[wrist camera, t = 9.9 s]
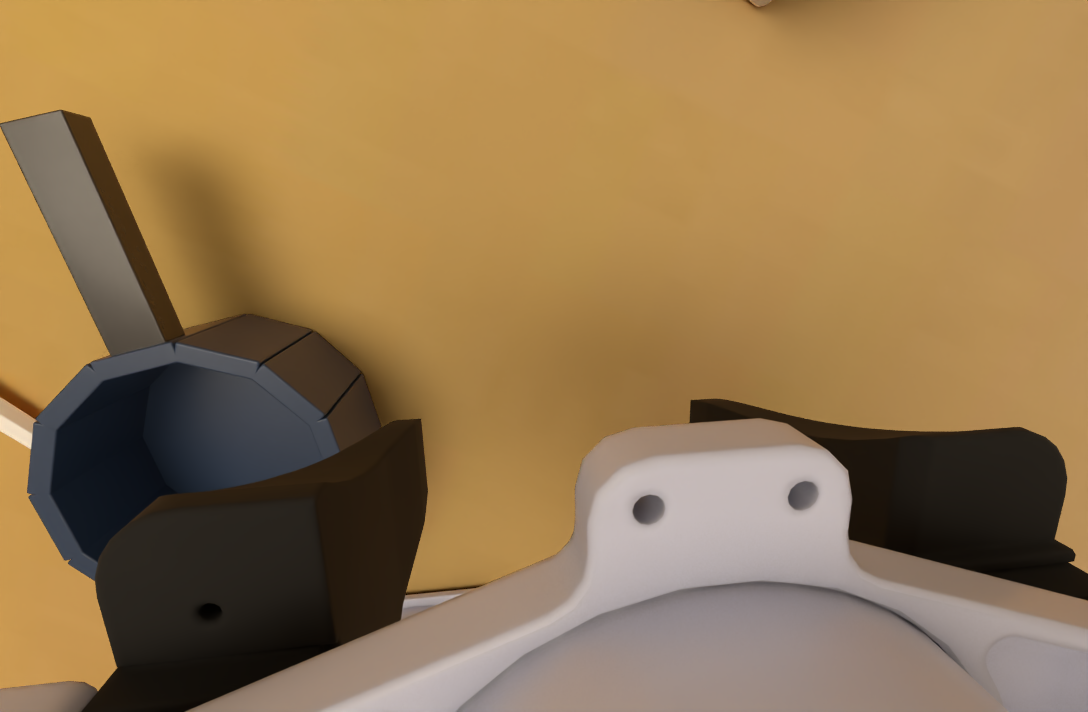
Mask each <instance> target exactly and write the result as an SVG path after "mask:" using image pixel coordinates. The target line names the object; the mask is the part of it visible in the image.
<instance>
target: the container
mask: <svg viewBox="0 0 1088 712" xmlns="http://www.w3.org/2000/svg"><path fill="white" fill-rule="evenodd" d="M749 1H750V2H751V3H753V4H754V5H755V6H757V7H760V6H765V5H767V4H768V3H769V2H771V1H772V0H749Z"/></svg>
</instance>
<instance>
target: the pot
mask: <svg viewBox="0 0 1088 712" xmlns="http://www.w3.org/2000/svg"><path fill="white" fill-rule="evenodd" d="M0 127H1V129H2V131H3V133H4V135H5V138H6V140H7V142H8V144H9V146H10V148H11V150H12V152H13V154H14V156H15V158H16V160H17V162H18V164H19V167H20V169H21V171H22V173H23V175H24V177H25V179H26V181H27V183H28V185H29V187H30V189H31V191H32V193H33V196H34V198H35V200H36V202H37V204H38V206H39V208H40V210H41V212H42V214H43V216H44V218H45V220H46V222H47V225H48V227H49V229H50V231H51V233H52V235H53V237H54V239H55V241H56V243H57V245H58V247H59V249H60V251H61V254H62V256H63V258H64V260H65V262H66V264H67V266H68V268H69V270H70V272H71V274H72V276H73V278H74V280H75V283H76V285H77V287H78V289H79V291H80V293H81V295H82V297H83V299H84V301H85V303H86V305H87V307H88V310H89V312H90V314H91V316H92V318H93V320H94V322H95V324H96V326H97V328H98V330H99V332H100V334H101V336H102V339H103V341H104V343H105V345H106V347H107V349H108V351H109V353H110V355H109V356H106V357H103V358H100V359H97V360H95V361H92V362H91V363H89V364H87V365H85V366H84V367H83V368H82V370H81V371H80V372H79V373H78V374H77V375H76V376H75V377H74V378H73V379H72V380H71V381H70V382H69V383H68V384H67V386H66V387H65V388H64V389H63V390H62V391H61V392H60V393H59V394H58V395H57V396H56V397H55V398H54V399H53V400H52V402H51V403H50V404H49V405H48V406H47V407H46V408H45V409H44V410H43V411H42V412H41V413H40V414H39V415H38V416H37V418H36V420H37V421H36V422H34V423H33V432H32V443H31V455H30V466H29V477H28V488H27V493H29V494H31V495H30V496H29V499H30V501H31V503H32V505H33V506H34V508H35V510H36V512H37V513H38V515H39V517H40V519H41V520H42V522H43V524H44V526H45V527H46V529H47V531H48V533H49V534H50V536H51V538H52V540H53V541H54V543H55V545H56V547H57V548H58V550H59V552H60V554H61V555H62V557H63V559H64V560H70V559H71V560H70V561H69V562H68V564H69V565H70V566H72V567H74V568H75V569H77V570H78V571H80V572H81V573H83V574H85V575H86V576H88V577H89V578H91V579H92V580H94V581H95V574H96V569H97V565H98V560H99V557H100V555H101V553H102V552H103V550H104V548H105V547H106V545H107V544H108V542H109V540H110V539H111V538H112V537H113V536H114V535H115V534H117V533H118V532H119V531H120V530H121V529H122V528H124V527H125V526H126V525H127V524H128V523H129V522H130V521H132V520H133V519H134V518H135V517H136V516H137V515H139V514H140V513H141V512H142V511H143V510H144V509H145V508H147V507H148V506H149V505H150V504H151V503H152V502H154V501H155V500H156V499H157V498H158V497H160V496H165V495H172V494H181V493H192V492H205V491H213V490H219V489H225V488H230V487H235V486H240V485H245V484H249V483H254V482H258V481H262V480H266V479H269V478H273V477H276V476H279V475H282V474H286V473H289V472H292V471H296V470H299V469H301V468H304V467H307V466H309V465H312V464H314V463H317V462H319V461H321V460H324V459H326V458H328V457H330V456H332V455H334V454H336V453H338V452H340V451H342V450H344V449H346V448H347V447H349V446H351V445H353V444H355V443H357V442H359V441H360V440H362V439H364V438H365V437H367V436H369V435H370V434H372V433H374V432H375V431H377V430H378V429H380V427H381V425H380V422H379V419H378V416H377V413H376V410H375V407H374V404H373V402H372V399H371V396H370V393H369V390H368V387H367V384H366V382H365V379H364V376H363V374H360V372H361V371H360V370H359V369H358V368H356V367H355V366H354V365H353V364H352V363H351V362H350V361H348V360H347V359H346V358H345V357H344V356H343V355H342V354H340V353H339V352H338V351H337V350H336V349H335V348H334V347H332V346H331V345H330V344H329V343H328V342H327V341H326V340H325V339H323V338H322V337H321V336H320V335H319V334H318V333H317V332H315V331H314V332H312V330H311V329H308V328H304V327H300V326H296V325H292V324H288V323H284V322H280V321H276V320H272V319H268V318H264V317H260V316H256V315H252V314H248V315H246V314H242V315H238V316H234V317H230V318H226V319H222V320H218V321H214V322H210V323H206V324H202V325H198V326H194V327H190V328H186V329H183V328H182V326H181V324H180V322H179V319H178V317H177V315H176V312H175V310H174V308H173V305H172V303H171V301H170V299H169V296H168V294H167V292H166V289H165V287H164V285H163V283H162V280H161V278H160V276H159V273H158V271H157V269H156V267H155V264H154V262H153V260H152V257H151V255H150V253H149V251H148V248H147V246H146V244H145V241H144V239H143V237H142V235H141V232H140V230H139V228H138V225H137V223H136V221H135V219H134V216H133V214H132V212H131V209H130V207H129V205H128V203H127V200H126V198H125V196H124V193H123V191H122V189H121V187H120V184H119V182H118V180H117V177H116V175H115V173H114V171H113V168H112V166H111V164H110V161H109V159H108V157H107V154H106V152H105V150H104V148H103V145H102V143H101V141H100V138H99V136H98V134H97V132H96V129H95V127H94V125H93V122H92V120H91V118H90V117H86V116H82V115H79V114H75V113H71V112H68V111H64V110H57V111H53V112H48V113H44V114H39V115H35V116H31V117H26V118H22V119H17V120H13V121H8V122H4V123H0ZM359 374H360V375H359Z"/></svg>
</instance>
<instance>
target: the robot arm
mask: <svg viewBox="0 0 1088 712" xmlns="http://www.w3.org/2000/svg"><path fill="white" fill-rule="evenodd" d="M1066 484H1067V475H1066V469H1065V463H1064V459H1063V458H1062V456H1061V454H1060V452H1059V450H1058V448H1057V447H1056V446H1055V445H1054V444H1053V443H1052V442H1050V441H1049V440H1048V439H1047V438H1046V437H1044V436H1041V435H1039V434H1036V433H1034V432H1031V431H1029V430H1026V429H1024V428H1022V427H1012V428H999V429H986V430H973V431H959V432H919V431H895V430H882V429H869V428H859V427H851V426H844V425H837V424H831V423H824V422H819V421H814V420H809V419H804V418H800V417H795V416H791V415H786V414H782V413H778V412H774V411H770V410H766V409H762V408H759V407H755V406H751V405H747V404H743V403H739V402H734V401H729V400H723V399H701V400H691V405H690V423H688V424H674V425H660V426H647V427H634V428H631V429H628V430H624V431H621V432H618V433H615V434H612V435H609V436H606V437H604V438H603V439H602V440H601V441H600V442H599V443H598V444H597V445H596V446H595V447H594V448H593V449H592V450H591V451H590V452H589V453H588V454H587V455H586V456H585V457H584V458H583V459H582V463H581V467H580V470H579V474H578V478H577V481H576V485H575V525H574V532H573V534H572V536H571V539H570V541H569V542H568V543H567V544H566V545H565V546H564V547H563V549H562V550H561V551H559V552H558V553H557V554H556V555H553V556H551V557H549V558H546V559H544V560H542V561H539V562H537V563H534V564H532V565H530V566H527V567H525V568H523V569H520V570H518V571H516V572H513V573H511V574H509V575H506V576H504V577H501V578H499V579H497V580H494V581H492V582H490V583H487V584H485V585H483V586H480V587H478V588H472V589H462V590H452V591H443V592H433V593H423V594H413V595H405V594H406V589H407V586H408V582H409V578H410V575H411V571H412V567H413V564H414V560H415V556H416V552H417V549H418V545H419V541H420V537H421V534H422V530H423V526H424V522H425V513H426V504H427V494H428V488H427V477H426V467H425V456H424V446H423V435H422V425H421V419H410V420H396V421H393V422H391V423H389V424H387V425H385V426H383V427H382V428H380V429H378V430H377V431H375V432H374V433H372V434H370V435H369V436H367V437H365V438H364V439H362V440H360V441H359V442H357V443H355V444H353V445H351V446H349V447H347V448H346V449H344V450H342V451H340V452H338V453H336V454H334V455H332V456H330V457H328V458H326V459H324V460H321V461H319V462H317V463H314V464H312V465H309V466H307V467H304V468H301V469H299V470H296V471H292V472H289V473H286V474H282V475H279V476H276V477H273V478H269V479H266V480H262V481H258V482H254V483H249V484H245V485H240V486H235V487H230V488H225V489H219V490H213V491H205V492H192V493H181V494H172V495H165V496H160V497H158V498H157V499H156V500H155V501H154V502H152V503H151V504H150V505H149V506H148V507H147V508H145V509H144V510H143V511H142V512H141V513H140V514H139V515H137V516H136V517H135V518H134V519H133V520H132V521H130V522H129V523H128V524H127V525H126V526H125V527H124V528H122V529H121V530H120V531H119V532H118V533H117V534H115V535H114V536H113V537H112V538H111V539H110V540H109V542H108V544H107V545H106V547H105V548H104V550H103V552H102V553H101V555H100V557H99V560H98V565H97V569H96V574H95V584H96V593H97V599H98V603H99V606H100V610H101V613H102V617H103V620H104V624H105V627H106V631H107V634H108V638H109V641H110V644H111V648H112V651H113V655H114V658H115V662H116V665H117V667H118V668H117V669H116V670H115V672H114V673H113V674H112V675H111V676H110V678H109V679H108V680H107V681H106V683H105V684H104V685H103V686H102V687H101V689H100V690H99V691H97V689H96V688H95V687H93V686H91V685H89V684H87V683H85V682H74V681H66V682H57V683H48V684H39V685H30V686H21V687H12V688H3V689H0V712H1088V574H1087V573H1086V572H1084V571H1082V570H1080V569H1079V568H1077V567H1075V566H1073V565H1072V564H1070V563H1068V562H1072V561H1074V559H1075V553H1074V551H1073V549H1071V548H1069V547H1067V546H1065V545H1064V544H1062V543H1060V542H1058V541H1056V540H1054V539H1055V535H1056V531H1057V527H1058V522H1059V518H1060V514H1061V510H1062V506H1063V502H1064V498H1065V493H1066Z"/></svg>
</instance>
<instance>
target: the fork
mask: <svg viewBox="0 0 1088 712" xmlns="http://www.w3.org/2000/svg"><path fill="white" fill-rule="evenodd" d="M36 421H37V420H35V419H34V418H32V417H31V416H29V415H28V414H26V413H25V412H23V411H21V410H20V409H18V408H17V407H15V406H14V405H12V404H10V403H9V402H7V401H6V400H4V399H3V398H1V397H0V431H1V432H3V433H4V434H6V435H8V436H9V437H11V438H13V439H15V440H16V441H18V442H20V443H21V444H23V445H25V446H26V447H28V448H30V449H31V443H32V432H33V423H34V422H36Z"/></svg>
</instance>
